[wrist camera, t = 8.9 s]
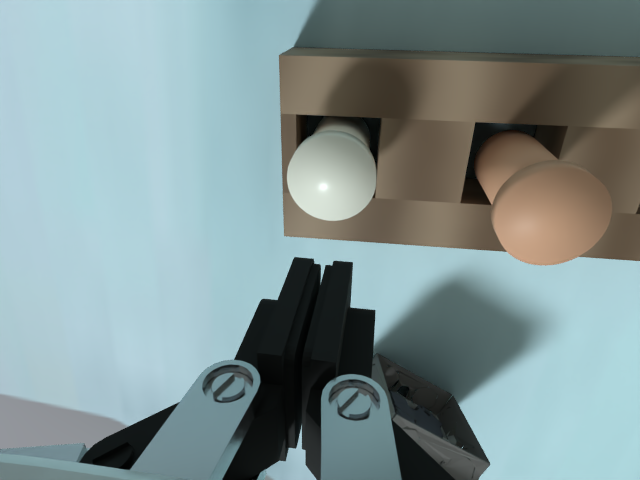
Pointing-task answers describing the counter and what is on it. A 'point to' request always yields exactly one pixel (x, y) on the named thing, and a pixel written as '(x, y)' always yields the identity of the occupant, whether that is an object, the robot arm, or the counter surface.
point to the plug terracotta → (540, 200)
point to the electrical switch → (431, 420)
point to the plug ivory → (333, 169)
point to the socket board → (463, 135)
